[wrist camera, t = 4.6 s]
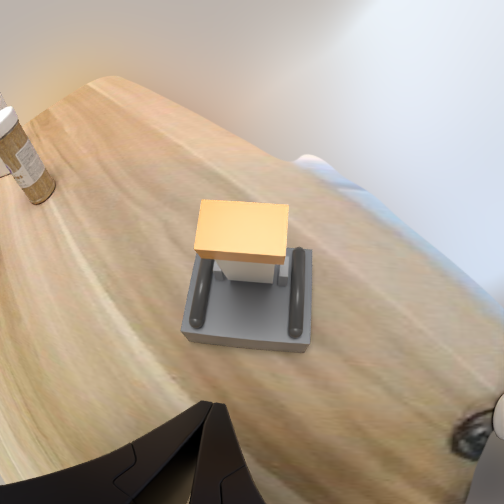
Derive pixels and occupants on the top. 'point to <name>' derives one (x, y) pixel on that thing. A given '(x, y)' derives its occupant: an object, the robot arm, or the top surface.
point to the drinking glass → (499, 418)
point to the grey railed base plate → (251, 306)
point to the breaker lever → (243, 238)
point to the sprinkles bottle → (23, 158)
